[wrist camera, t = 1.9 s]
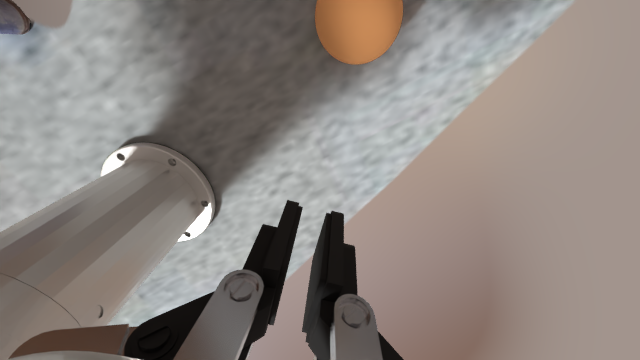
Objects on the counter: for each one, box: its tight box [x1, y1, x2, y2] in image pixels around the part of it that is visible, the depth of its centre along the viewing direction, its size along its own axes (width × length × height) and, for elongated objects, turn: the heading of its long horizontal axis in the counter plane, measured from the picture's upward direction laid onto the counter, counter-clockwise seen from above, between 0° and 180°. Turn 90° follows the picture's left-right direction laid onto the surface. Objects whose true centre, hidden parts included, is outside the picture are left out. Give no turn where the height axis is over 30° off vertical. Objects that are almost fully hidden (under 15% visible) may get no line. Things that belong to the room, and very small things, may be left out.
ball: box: [315, 0, 403, 64], centre depth 18 cm, size 6×6×6 cm
